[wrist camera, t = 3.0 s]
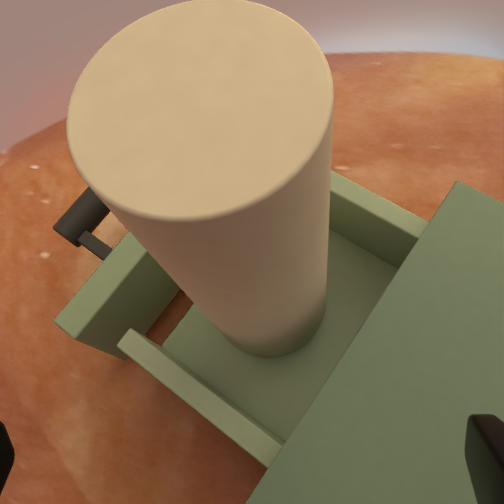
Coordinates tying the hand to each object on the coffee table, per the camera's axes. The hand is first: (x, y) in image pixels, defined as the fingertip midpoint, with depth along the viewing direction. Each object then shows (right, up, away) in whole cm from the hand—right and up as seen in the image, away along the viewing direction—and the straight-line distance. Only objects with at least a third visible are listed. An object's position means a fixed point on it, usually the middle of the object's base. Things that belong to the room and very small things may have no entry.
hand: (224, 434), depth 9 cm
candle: (+1, +1, +11) cm, 11 cm away
